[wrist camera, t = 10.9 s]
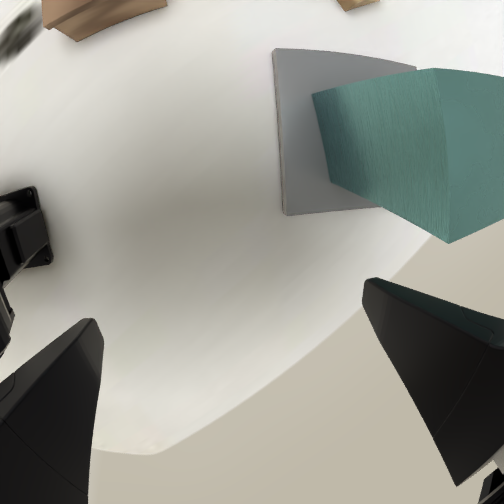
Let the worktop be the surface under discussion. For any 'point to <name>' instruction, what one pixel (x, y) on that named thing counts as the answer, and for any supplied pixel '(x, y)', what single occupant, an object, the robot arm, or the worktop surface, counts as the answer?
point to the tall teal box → (420, 146)
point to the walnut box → (92, 14)
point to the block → (354, 3)
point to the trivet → (315, 124)
